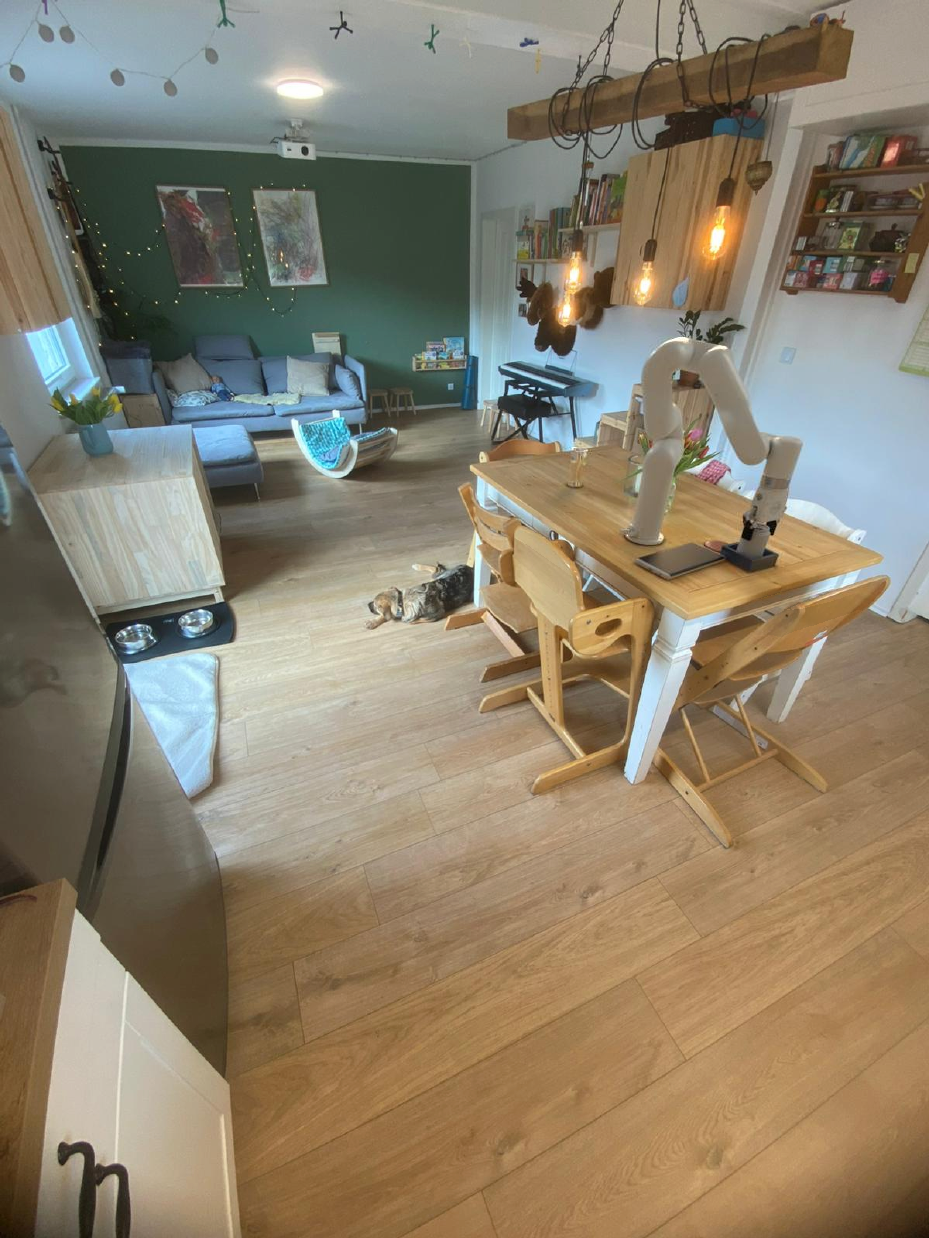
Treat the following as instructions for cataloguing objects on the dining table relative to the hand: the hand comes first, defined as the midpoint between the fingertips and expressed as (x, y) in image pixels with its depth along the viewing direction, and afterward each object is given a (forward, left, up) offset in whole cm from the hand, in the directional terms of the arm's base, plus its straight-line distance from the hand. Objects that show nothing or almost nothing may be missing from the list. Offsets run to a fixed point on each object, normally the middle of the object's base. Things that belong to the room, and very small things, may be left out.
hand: (757, 536), depth 162 cm
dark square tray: (0, 0, -9) cm, 9 cm away
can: (0, 0, -9) cm, 9 cm away
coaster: (0, +11, -9) cm, 14 cm away
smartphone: (-21, +8, -9) cm, 24 cm away
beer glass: (-10, +81, -9) cm, 82 cm away
